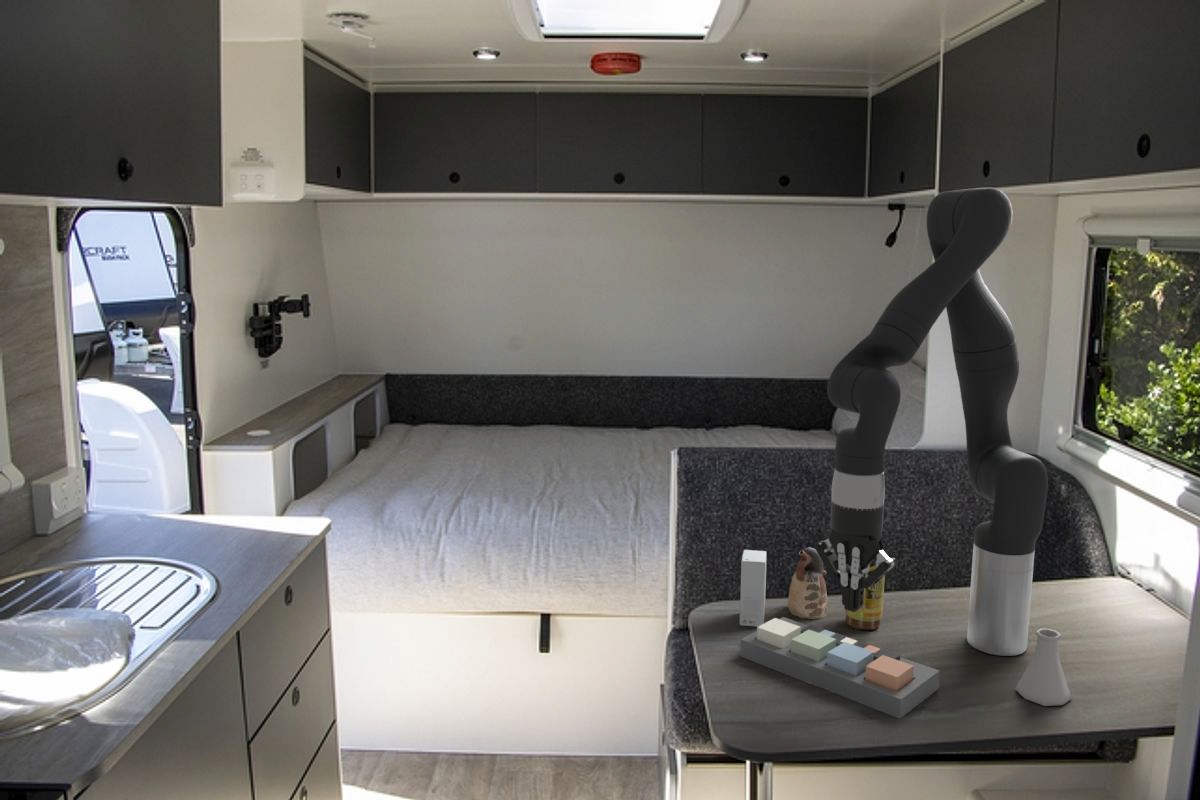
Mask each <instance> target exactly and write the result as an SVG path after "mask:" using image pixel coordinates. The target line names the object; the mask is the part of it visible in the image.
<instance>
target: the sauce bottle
mask: <svg viewBox="0 0 1200 800" xmlns="http://www.w3.org/2000/svg"><path fill="white" fill-rule="evenodd" d="M876 561H877V558H876V559H875V560H874V561H873V562H872V563H871V564H870V569H869V571H868V573H867V577H868V576H869V575H870V574H871V573H872V572H873V571H874V570H875V569H876V568H877V567H876ZM885 576H886V575H885ZM885 576H884V577H883V578H882V579H881V580H879V581H878V582H877V583H876V584H875V585H873V586H871V587H869V588H867V589H865V588H864V600H863V606H862V607H861V608H860V609H859V610H857V611H855V612H852V611H849V610H846V609H844V613H845V622H846V624H847V625H848V626H850V627H852V628H855V629H858V630H863V631H864V630H867V631H870V630H875V629H878V628H879V627H880V625H881V622H882V619H883V608H884V594H885V593H884V592H885V579H886V578H885Z"/></svg>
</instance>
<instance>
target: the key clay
mask: <svg viewBox="0 0 1200 800" xmlns="http://www.w3.org/2000/svg"><path fill="white" fill-rule="evenodd" d="M913 669H914V666H913V665H910V664H907V663H904V662H902V661H899V660H896V659H893V658H890V657H887V656H884V655H882V656H881V657H879V658H878V659H876V660H874V661H873V662H871V663H870V664H868V665H867V666H866V674H865V680H867V681H870V682H873V683H875V684H878V685H881V686H884V687H886V688H889V689H892V690H894V691H897V692H898V691H899V690H900V689H902V688H903V687H904V686H906V685H907V684H908V683H910V682H911V681H913Z"/></svg>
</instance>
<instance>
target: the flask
mask: <svg viewBox="0 0 1200 800" xmlns="http://www.w3.org/2000/svg"><path fill="white" fill-rule="evenodd" d="M1035 635H1036V637H1037V641H1036V646H1035V650H1034V652H1033V656H1032V657H1031V659H1030V661H1029V663H1028V664H1027V667H1026V669H1025V671H1024V672H1023V674H1022V676H1021V678H1020V679H1019V681H1018V683H1017V685H1016V687H1015V689H1014V690H1015V691H1016V692H1018V694H1020V696H1022V697H1023V699H1025V700H1028V701H1030V702H1033V703H1036V704H1039V705H1040V706H1044V707H1047V706H1048V707H1050V706H1052V707H1053V706H1064V705H1065V704H1066V703H1068V702H1069V701H1070V700H1072V695H1071V692H1070V689H1069V685H1068V684H1067V680H1066V676H1065V673H1064V671H1063V668H1062V667H1063V666H1062V664H1061V661H1060V653H1059V640H1060V639H1061V637H1062V635H1061V634H1060V632H1058V631H1057V630H1054V629H1050V628H1047V627H1046V628H1038V629H1037V630H1036V631H1035Z"/></svg>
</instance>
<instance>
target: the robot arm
mask: <svg viewBox="0 0 1200 800" xmlns="http://www.w3.org/2000/svg"><path fill="white" fill-rule="evenodd" d="M926 212H927V213H926V230H927V232H926V233H927V236H928V241H929V246H930V249H931V252H932V256H933V260H934V261H933V262H932V263H931V265H929V266H928V267H927V268H926V269H924V271H922V272H921V273H920V274H919V275H918V276H916V277H915V278H913V279H912V280H911V281H910V282H908V284H906V285H905V286H904V287H903V288H901V290H899V292H898V293H896V295H895V296H894V297H893V298H892V299H891V301H890V302H889V303H888V304H887V306H886V308H885V309H884V311H883V312H882V314H881V315H880V317H879V318H878V320H877V322H875V325H874V326H873V328H872V329H871V331H870V333H869V334H868V335H867V336H865V338H863V339H862V340H861V341H860V342H859V343H858V344H856V345H855V346H854V347H853V348H852V349H851V350H850V351H849V352H848V353H847V354H846V355H845V356H844V357H843V358H842V359H841V360H840V361H838V363H837V364H836V366H835V367H834V368H833V370H832V371H831V373H830V375H829V379H828V381H827V387H826V388H827V391H826V392H827V397H828V399H829V401H830V402H831V404H832V405H833V406H834V407H836V408H838V409H839V410H842V411H847V412H851V413H855V414H859V417H858V421H857V423H856V426H855V427H854V426H853V427H847V428H844V429H842V430H840V431H839V432H838V434H837V437H836V439H835V440H836V441H835V453H834V454H835V456H834V457H835V458H834V472H833V477H832V483H831V491H830V494H831V500H830V501H831V503H830V505H831V506H830V523H829V525H830V528H831V529H830V532H829V533H828V535H827V538H826V539H825V540H822V541H819V542H817V543H815V544H814V549H815V550H816V551H817V552H818V554H819V556H820V558H821V560H822V561H823V566H825V569H826V570H827V572H828V574H829V576H830V577H831V578H832V579H833V580H837V581H838V582H840V585H841V586H842V591H841V592H842V593H841V603H842V606H844V610H845V609H846V610H849V611H852V612H855V611H857V610H859V609H860V608H861V607H862V606H863V600H864V588H865V589H867V588H869V587H871V586H873V585H875V584H876V583H877V582H878V581H879V580H881V579H882V578H883V577H884V576H886V575H887V574H888V573H889V572H890V571H891V570H892V569H893V568H894V567H895V566H896V565H897V564H898V560H897V559H896V558H895V557H889V555H888V554H887V553H886V552H885V551H884V547H885V546H884V542H883V541H882V533H883V527H884V509H885V493H886V491H885V490H886V483H885V459H886V444H887V441H888V438H889V435H890V433H891V430H892V427H893V423H894V422H895V418H896V415H897V412H898V409H899V406H900V401H901V388H900V383H899V381H898V379H897V377H896V375H895V374H894V373H892V371H890V370H889V368H893V367H898V366H904V365H907V364H908V363H909V362H911V360H912V359H913V357H914V356H915V355H916V353H917V352H918V350H919V348H920V347H921V346H922V343H923V342H924V340H925V339H926V338H927V335H928V334H929V333H930V332H931V331H930V330H931V329H932V327H933V326H934V324H935V323H936V322H937V320H938V319H939V317H940V316H941V315H942V313H943V312H944V311H945V309H946V314H947V320H948V325H949V329H950V331H949V332H950V337H951V346H952V353H953V357H954V363H955V370H956V374H957V379H958V385H959V392H960V398H961V403H962V404H961V406H962V410H963V411H962V412H963V417H964V422H965V423H964V424H965V436H966V437H965V439H966V459H967V471H968V472H967V473H968V478H969V481H970V485H971V486H972V488H973V490H974V491H975V492H976V493H977V495H979V496H980V497H981V498H983V499H985V500H987V501H990V502H992V503H993V508H992V515H991V520H988V521H987V520H986V521H983V522H981V523H979V524H977V525H976V527H975V529H974V536H973V548H972V551H973V552H972V563H971V578H970V591H969V592H970V594H969V605H968V606H969V607H968V617H967V618H968V620H967V635H966V642H967V643H968V645H969V646H970V647H973V648H974V649H975V650H977V651H981V652H983V653H986V654H989V655H994V656H1002V657H1003V656H1004V657H1006V656H1009V657H1011V656H1013V657H1014V656H1018V655H1022V654H1023V653H1025V652H1026V650H1027V649H1028V648H1027V646H1028V637H1029V625H1030V624H1029V622H1030V613H1031V612H1030V611H1031V600H1032V590H1033V589H1032V588H1033V575H1034V565H1035V564H1034V563H1035V554H1036V553H1035V552H1036V543H1037V541H1038V538H1039V537H1040V535H1041V532H1042V529H1043V525H1044V519H1045V513H1046V512H1045V511H1046V507H1047V506H1046V504H1047V497H1048V490H1049V477H1048V471H1047V469H1046V466H1045V464H1044V463H1043V462H1042V461H1041V460H1040V459H1038V458H1037V457H1035V456H1033V455H1031V454H1028V453H1026V452H1023V451H1020V450H1017V449H1015V447H1014V445H1013V442H1012V439H1011V434H1010V427H1009V421H1008V411H1009V410H1008V408H1009V404H1010V401H1011V398H1012V396H1013V393H1014V390H1015V388H1016V385H1017V381H1018V377H1019V373H1020V360H1019V353H1018V346H1017V339H1016V333H1015V329H1014V327H1013V323H1012V321H1010V317H1008V315H1007V314H1006V312H1005V310H1004V309H1003V307H1002V306H1001V305H1000V303H999V302H998V301H997V299H996V298H995V295H993V294H992V293H991V290H990V289H989V287H987V285H986V283H985V281H984V280H983V276H982V275H981V273H980V268H981V266H982V265H984V263H985V262H986V261H987V260H988V259H989V258H990V257H991V256H992V255H993V253H995V251H996V250H997V249H998V248H999V247H1000V245H1001V244H1002V243H1003V242H1004V240H1005V238H1006V237H1007V235H1008V233H1009V231H1010V229H1011V227H1012V222H1013V207H1012V203H1011V201H1010V199H1009V197H1008V196H1007V194H1006V193H1005V192H1004V191H1001V190H1000V189H998V188H994V187H976V188H975V187H974V188H964V189H955V190H949V191H948V190H947V191H943V192H940V193H938V194H937V195H935V197H933V199H932V200H931V202H930V204H929V206H928V207H927V211H926ZM876 558H877V561H876V567H877V568H876V569H875V570H874V571H873V572H872V573H871V574H870V575H869V576H868V577H867V573H868V571H869V569H870V564H871V563H872V562H873V561H874V560H875V559H876Z"/></svg>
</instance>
